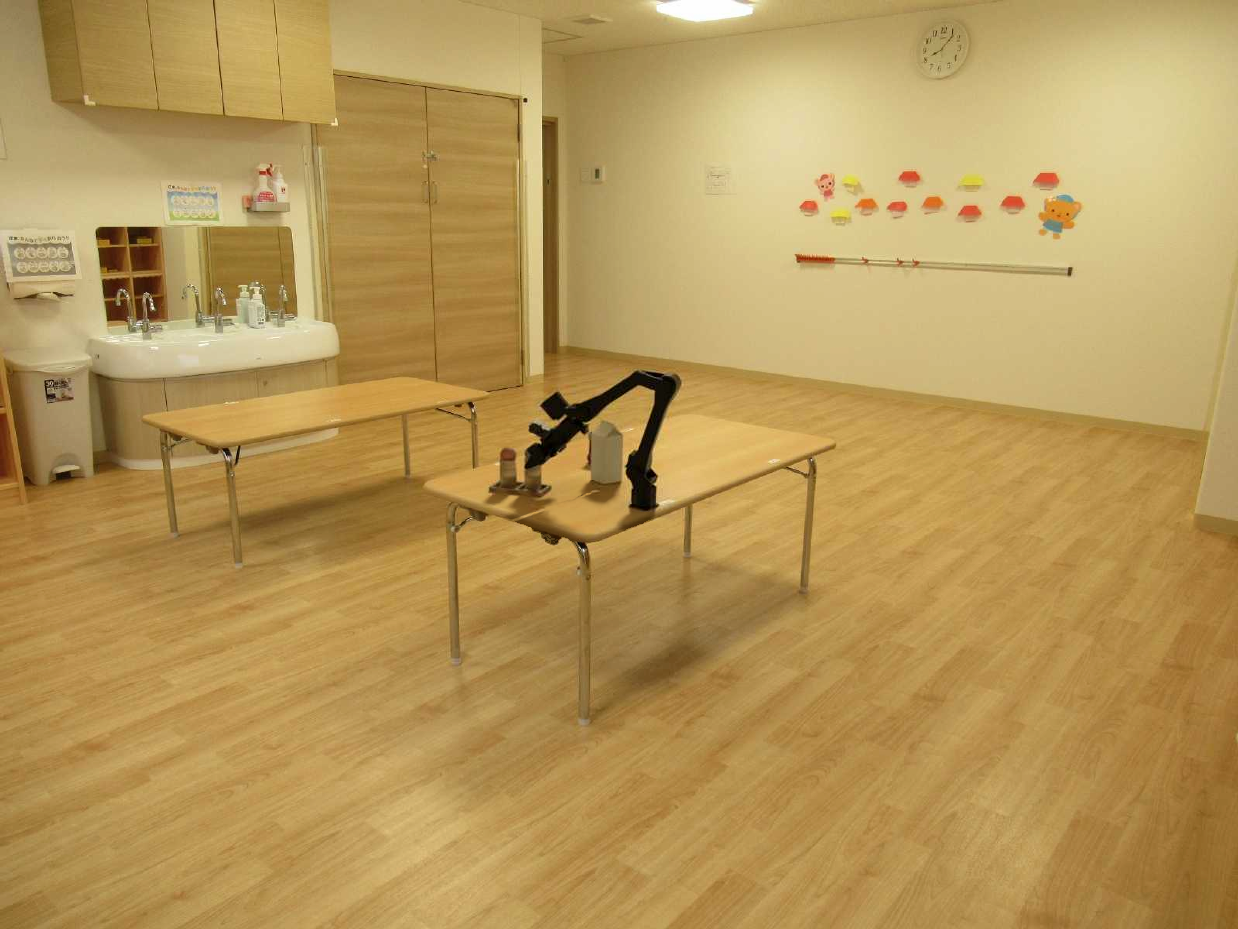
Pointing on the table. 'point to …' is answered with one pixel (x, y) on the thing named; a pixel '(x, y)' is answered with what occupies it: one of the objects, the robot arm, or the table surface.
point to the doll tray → (521, 489)
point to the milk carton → (606, 453)
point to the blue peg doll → (531, 475)
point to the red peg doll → (508, 468)
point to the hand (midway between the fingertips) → (528, 465)
